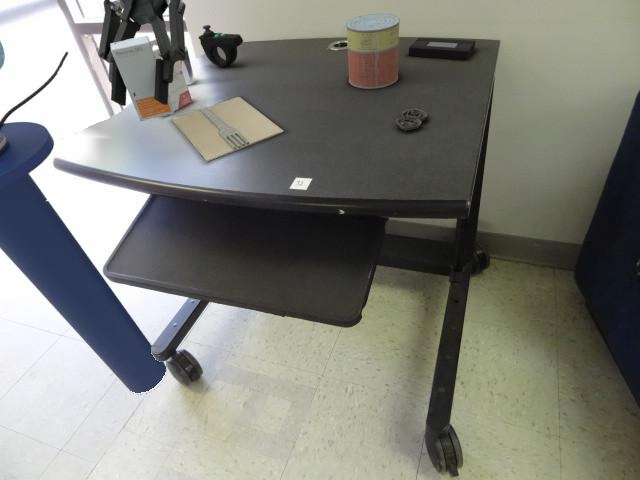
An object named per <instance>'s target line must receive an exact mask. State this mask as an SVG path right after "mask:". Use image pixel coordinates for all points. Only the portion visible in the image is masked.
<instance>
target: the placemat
mask: <svg viewBox="0 0 640 480" xmlns="http://www.w3.org/2000/svg"><path fill="white" fill-rule="evenodd" d="M207 108H208V109H209V110H210V111H211V112H212V113H213V114H214V115H215V116H216V117H218V118H219V119H220V120H221V121H222V122H223V123H224V124H225V125H226V126H227V127H228V128H230V127H233V128H234V129H235V130H237V131H238V132H239V133H240V134H241V135H242V136H243V137H244V138H245V139H246V140H248V141H249V144H248V145H247V144H246V143H245V142H244V141H243V140H242V139H240V138H239V137H238V136H237V135H236V136H237V137H238V138H239V139H240V140H241V141H242V142H244V143H245V146H242V145H241V144H240V143H239V142H238V141H237V140H236V139H235V138H233V137H232V138H233V139H234V140H235V141H236V142H237V143H239V144H240V146H241V147H240V148H238V147H237V146H236V145H235V144H234V143H233V142H232V141H231V140H230V139H229V138H227V139H228V140H229V141H230V142H231V143H232V144H233V145H234V146H235V147H236V149H235V150H234V149H233V148H232V147H231V146H230V145H229V144H228V143H227V142H226V141H225V140H224V139H223V138H222V137H221V136H220V135H219V134H218V132H219V131H220V130H219V129H218V128H217V127H216V126H215V125H214V124H213V123H212V122H211V121H210V120H209V119H208V118H207V117H206V116H205V115H204V114H203V113H202V112H201V111H200V109H199V110H198V109H197V110H196V111H193V112H190V113H187V114H184V115H180V116H178V117H175V118H172V119H171V120H172V121H173V123H174V124H175V125H176V126H177V127H178V129H179V130H180V131H181V132H182V133H183V135H184V136H185V137H186V138H187V140H188V141H189V142H190V143H191V144H192V145H193V147H194V148H195V149H196V150H197V152H199V154H200V155H201V156H202V157H203V159H204V160H205V161H206V162H211V161H213V160H215V159H219V158H222V157H223V156H226V155H228V154H231V153H234V152H237V151H239V150H242V149H244V148H247V147H249V146H252V145H254V144H257V143H260V142H262V141H265V140H267V139H270V138H272V137H275V136H278V135H280V134H283V133H284V132H285V130H283V129H282V128H281V127H279V126H278V125H277V124H275V123H274V122H273V121H271V120H270V119H269V118H268V117H267V116H265V115H264V114H262V112H260V111H258V110H257V109H256V108H255V107H254V106H252V105H251V104H249V103H248V102H247V101H245V100H244V99H243V98H241V97H240V96H237V97H233V98H231V99H228V100H226V101H222V102H219V103H216V104H213V105H210V106H207Z"/></svg>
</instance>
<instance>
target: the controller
mask: <svg viewBox="0 0 640 480" xmlns="http://www.w3.org/2000/svg"><path fill="white" fill-rule="evenodd" d="M211 27H212V26H211V24H206V25H203V26H202V29H203V30H204V32H203V33H202V34H200V35H199V36H198V37H197V38H198V39H199V42H200V46H201V48H202V50H203V52H204V54H205V56H206V58H207V59H208V60H209V61H210V62H211V64H213V65H214V66H215V67H216V66H217V67H219V68H227V67H230V66H231V65H233V64H234V63H235V62H236V60H237V57H238V47H239V46H241V45H242V44H243V42H244V39H243V37H242V35H241V34H238V33H222V32H215V31H213V30H212V29H211ZM218 48H219V49H221V50H222V51H223V53H224V55H225V59H224V58H222V57H221V55H220V54H219V51H218Z"/></svg>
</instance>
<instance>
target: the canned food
mask: <svg viewBox="0 0 640 480" xmlns="http://www.w3.org/2000/svg"><path fill="white" fill-rule="evenodd" d="M400 19H401V18H400V17H398V16H396V15H394V14H389V13H372V14H364V15H359V16H355V17H353V18H351V19H349V20H347V21H346V23H345V27H346V46H347V63H348V82H349V84H350V85H351V86H353V87H355V88H358V89H363V90H364V89H366V90H372V89H373V90H375V89H381V88H385V87H389V86H391V85H393V84H395V83H396V82H397V81H398V79H399V49H400V48H399V46H400V45H399V44H400V22H401V20H400Z"/></svg>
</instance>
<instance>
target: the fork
mask: <svg viewBox="0 0 640 480" xmlns="http://www.w3.org/2000/svg"><path fill="white" fill-rule="evenodd" d="M207 107H208V106H207ZM207 107H202V108H201V109H199V110H200V111H201V112H202V113H203V114H204V115H205V116H206V117H207V118H208V119H209V120H210V121H211V122H212V123H213V124H214V125H215V126H216V127H217V128H218V129H219V130H220V131H219V132H218V134H219V135H220V136H221V137H222V138H223V139H224V140H225V141H226V142H227V143H228V144H229V145H230V146H231V147H232V148H233V149H234V150H235V149H236V147H235V146H234V145H233V144H232V143H231V142H230V141H229V140H228V139H227V138H229V139H230V140H231V141H232V142H233V143H234V144H235V145H236V146H237V147H238V148H240V147H241V146H240V144H241V145H242V146H245V143H246V144H247V145H248V144H249V141H248V140H246V139H245V138H244V137H243V136H242V135H241V134H240V133H239V132H238V131H237V130H235V129H234V128H233V127H230V128H228V127H227V126H226V125H225V124H224V123H223V122H222V121H221V120H220V119H219V118H218V117H216V116H215V115H214V114H213V113H212V112H211V111H210V110H209V109H208V108H207ZM236 135H237V136H238V137H239V138H240V139H242V140H243V141H244V142H245V143H244V142H242V141H241V140H240V139H239V138H238V137H237V136H236ZM232 137H233V138H235V139H236V140H237V141H238V142H239V143H240V144H239V143H237V142H236V141H235V140H234V139H233V138H232Z"/></svg>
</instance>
